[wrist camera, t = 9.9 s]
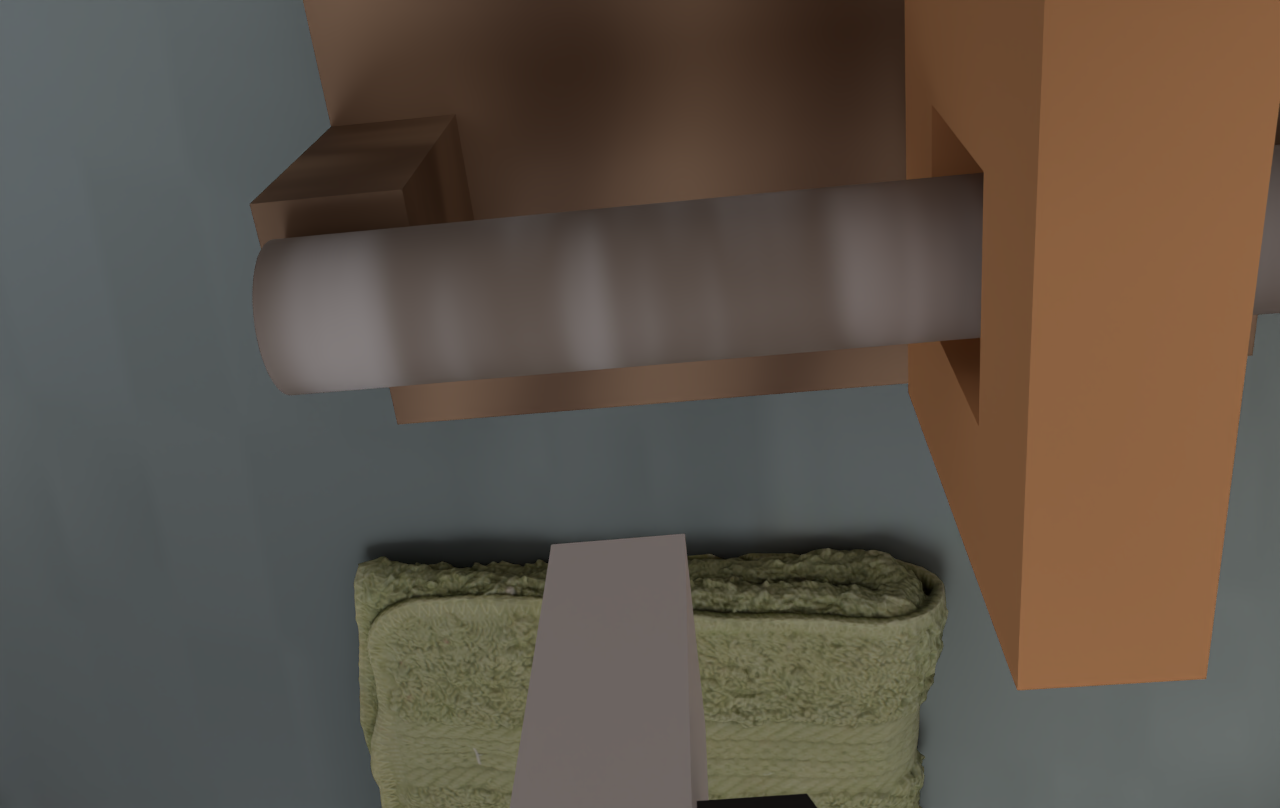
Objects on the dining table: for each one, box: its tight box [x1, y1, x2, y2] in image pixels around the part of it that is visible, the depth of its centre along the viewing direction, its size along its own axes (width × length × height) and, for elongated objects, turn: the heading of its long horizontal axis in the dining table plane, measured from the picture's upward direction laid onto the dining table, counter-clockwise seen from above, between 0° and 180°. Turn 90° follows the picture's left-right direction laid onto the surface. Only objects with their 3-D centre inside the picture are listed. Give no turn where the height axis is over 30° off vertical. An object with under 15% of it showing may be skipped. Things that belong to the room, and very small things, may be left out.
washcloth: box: [354, 548, 948, 808], centre depth 37 cm, size 13×18×3 cm
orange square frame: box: [904, 0, 1280, 690], centre depth 22 cm, size 3×11×11 cm, turn 6°
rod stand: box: [250, 0, 1280, 424], centre depth 25 cm, size 22×12×10 cm, turn 96°
